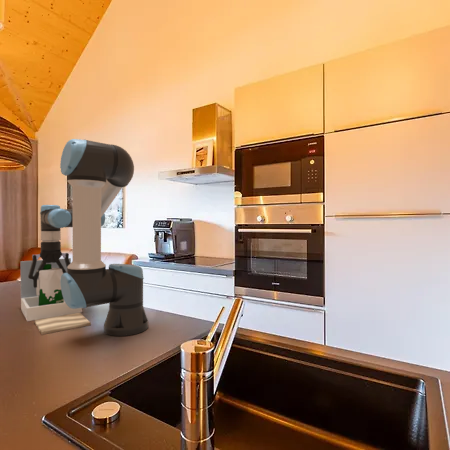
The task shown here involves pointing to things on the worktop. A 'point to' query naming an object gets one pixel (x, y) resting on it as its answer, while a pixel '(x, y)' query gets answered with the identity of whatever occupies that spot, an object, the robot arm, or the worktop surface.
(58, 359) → the worktop surface
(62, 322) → the wooden mat
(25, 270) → the equipment case
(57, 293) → the soya milk
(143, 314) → the robot arm
